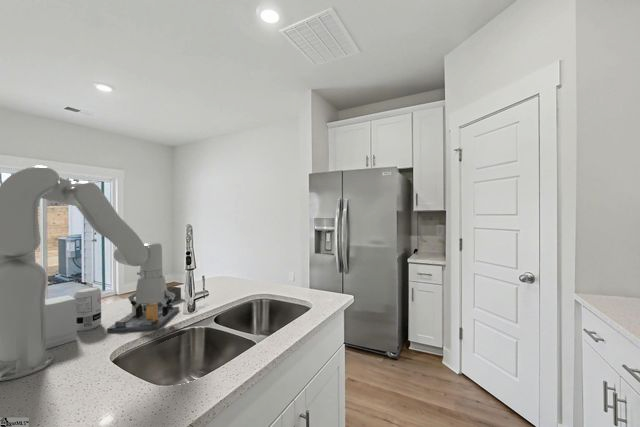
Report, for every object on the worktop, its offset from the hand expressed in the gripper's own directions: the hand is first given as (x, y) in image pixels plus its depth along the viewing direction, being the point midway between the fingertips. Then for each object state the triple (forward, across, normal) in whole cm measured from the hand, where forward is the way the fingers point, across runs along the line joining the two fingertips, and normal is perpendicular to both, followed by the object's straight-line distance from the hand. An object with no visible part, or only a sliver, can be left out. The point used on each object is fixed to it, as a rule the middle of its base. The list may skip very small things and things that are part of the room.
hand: (152, 316), depth 110 cm
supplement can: (+4, -25, +2) cm, 25 cm away
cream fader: (+2, -10, +9) cm, 14 cm away
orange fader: (+2, 0, 0) cm, 2 cm away
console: (+4, -5, +6) cm, 9 cm away
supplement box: (+4, -27, -10) cm, 29 cm away
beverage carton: (+4, -9, +28) cm, 30 cm away
